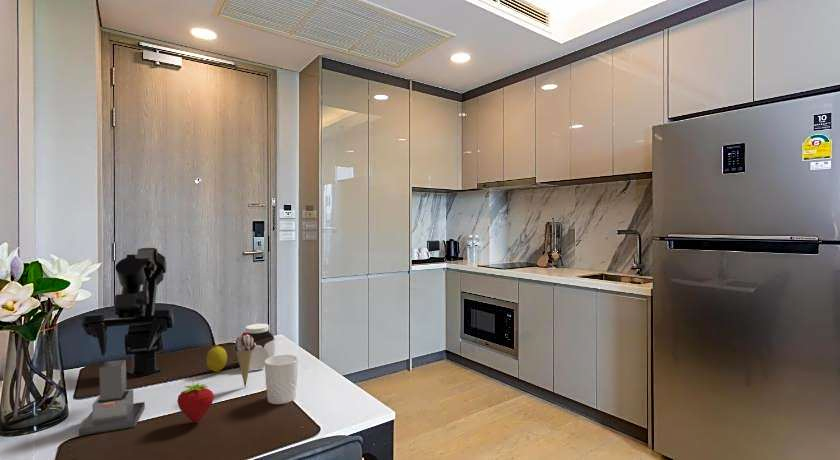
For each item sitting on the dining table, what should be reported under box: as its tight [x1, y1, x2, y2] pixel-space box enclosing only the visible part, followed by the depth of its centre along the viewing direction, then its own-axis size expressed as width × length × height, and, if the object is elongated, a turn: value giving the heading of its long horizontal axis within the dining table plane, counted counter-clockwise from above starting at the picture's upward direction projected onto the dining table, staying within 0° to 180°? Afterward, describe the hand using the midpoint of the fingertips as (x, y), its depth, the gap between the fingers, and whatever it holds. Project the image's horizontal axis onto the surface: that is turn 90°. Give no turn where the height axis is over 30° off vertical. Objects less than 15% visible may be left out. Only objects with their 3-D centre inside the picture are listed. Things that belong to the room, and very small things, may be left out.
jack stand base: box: [78, 389, 146, 437], centre depth 96 cm, size 10×10×6 cm
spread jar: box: [244, 323, 276, 371], centre depth 133 cm, size 12×11×12 cm
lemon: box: [206, 345, 228, 374], centre depth 127 cm, size 6×6×8 cm
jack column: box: [98, 359, 127, 402], centre depth 96 cm, size 4×4×11 cm
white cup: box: [264, 354, 299, 405], centre depth 108 cm, size 8×8×10 cm
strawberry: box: [176, 379, 214, 424], centre depth 95 cm, size 6×8×10 cm
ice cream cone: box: [232, 331, 256, 388], centre depth 115 cm, size 6×6×15 cm
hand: (126, 352), depth 104 cm, fingers open, 9 cm apart
